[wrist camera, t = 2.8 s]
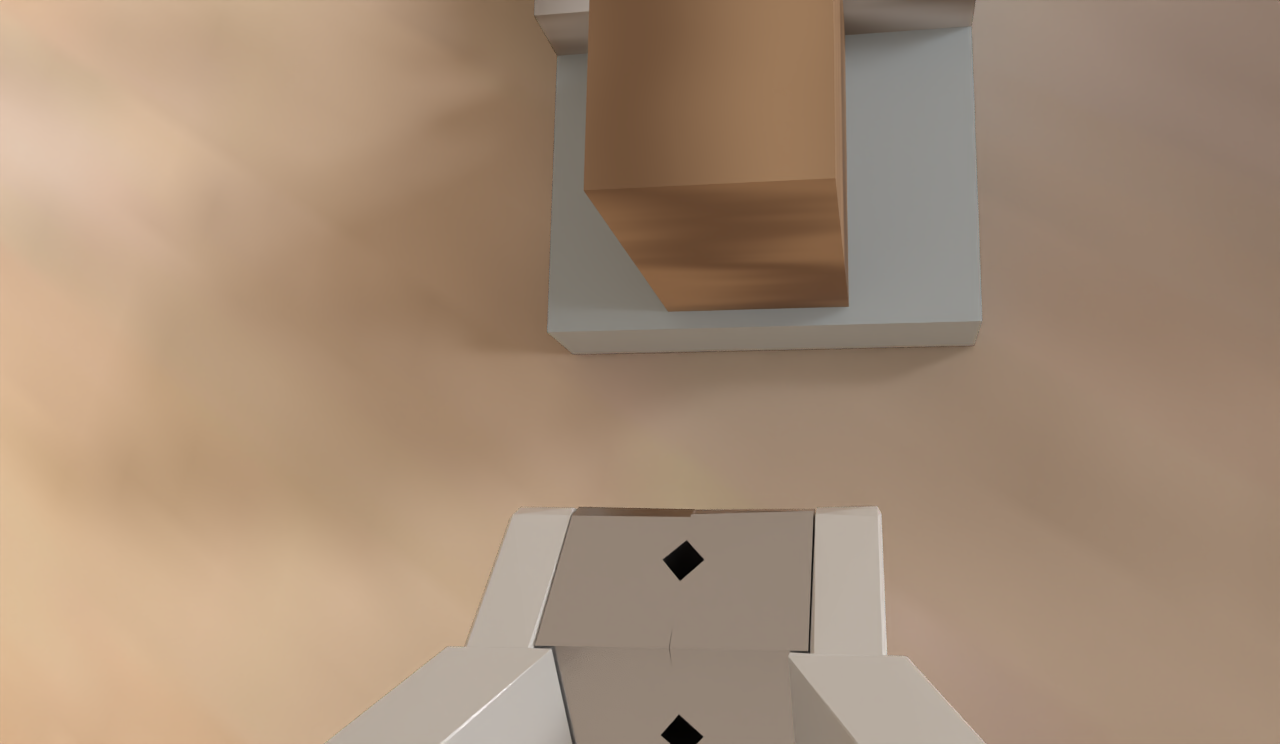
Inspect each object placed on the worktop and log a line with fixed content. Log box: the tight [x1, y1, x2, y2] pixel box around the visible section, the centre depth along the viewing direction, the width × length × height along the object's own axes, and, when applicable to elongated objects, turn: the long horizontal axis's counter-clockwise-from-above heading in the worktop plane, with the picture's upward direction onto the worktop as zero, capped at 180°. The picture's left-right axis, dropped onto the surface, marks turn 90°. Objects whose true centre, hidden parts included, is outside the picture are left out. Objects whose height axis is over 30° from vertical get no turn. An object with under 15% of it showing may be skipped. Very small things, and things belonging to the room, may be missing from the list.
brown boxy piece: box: [534, 0, 976, 312], centre depth 29 cm, size 12×9×10 cm
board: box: [547, 26, 982, 354], centre depth 36 cm, size 12×16×3 cm
